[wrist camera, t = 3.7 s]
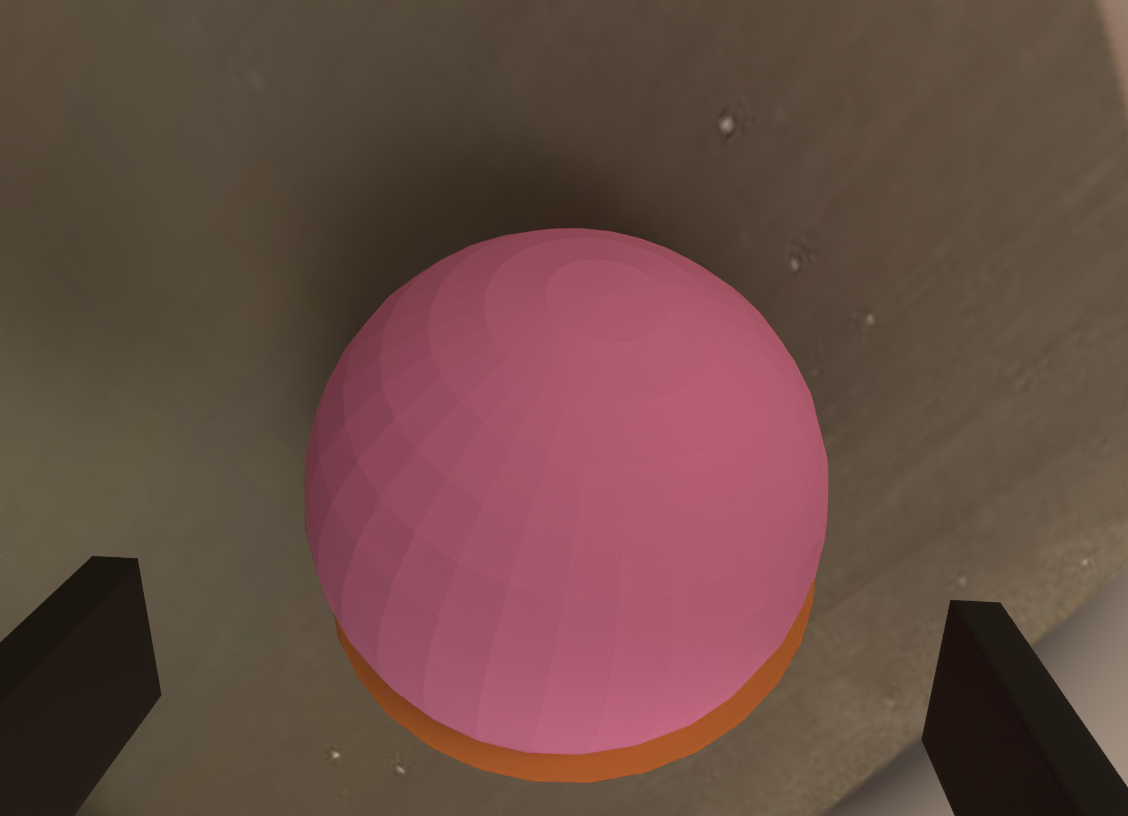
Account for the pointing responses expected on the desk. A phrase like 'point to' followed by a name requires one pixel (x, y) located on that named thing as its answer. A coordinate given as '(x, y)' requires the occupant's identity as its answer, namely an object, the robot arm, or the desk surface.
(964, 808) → the robot arm
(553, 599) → the ice cream cone
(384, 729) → the desk surface
